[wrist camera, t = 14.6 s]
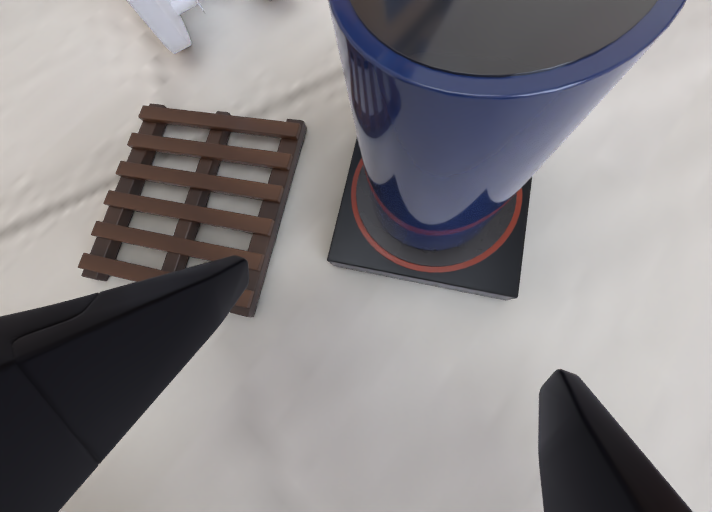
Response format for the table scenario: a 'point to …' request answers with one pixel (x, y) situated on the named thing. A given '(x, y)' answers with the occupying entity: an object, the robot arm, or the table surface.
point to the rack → (196, 196)
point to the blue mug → (476, 97)
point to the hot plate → (431, 267)
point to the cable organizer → (166, 20)
